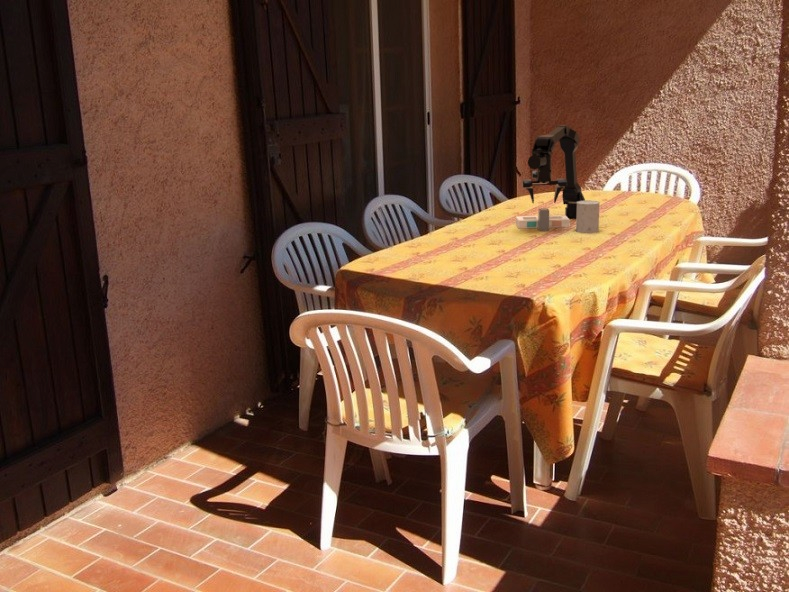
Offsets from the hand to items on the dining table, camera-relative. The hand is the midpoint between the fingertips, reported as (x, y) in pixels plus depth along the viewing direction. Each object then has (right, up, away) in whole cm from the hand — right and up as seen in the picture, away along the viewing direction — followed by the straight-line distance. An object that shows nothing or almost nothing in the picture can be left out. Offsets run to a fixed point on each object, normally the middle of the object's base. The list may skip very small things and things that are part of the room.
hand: (543, 203), depth 376 cm
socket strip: (+1, -9, +13) cm, 15 cm away
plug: (0, -11, +3) cm, 12 cm away
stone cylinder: (+18, -12, -1) cm, 22 cm away
